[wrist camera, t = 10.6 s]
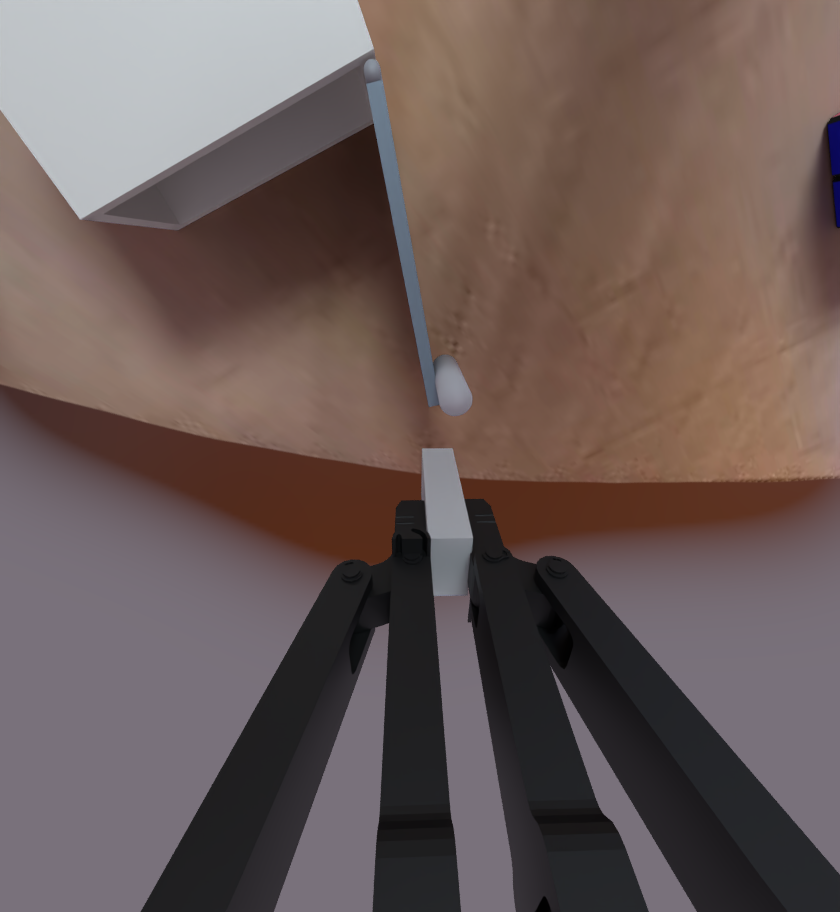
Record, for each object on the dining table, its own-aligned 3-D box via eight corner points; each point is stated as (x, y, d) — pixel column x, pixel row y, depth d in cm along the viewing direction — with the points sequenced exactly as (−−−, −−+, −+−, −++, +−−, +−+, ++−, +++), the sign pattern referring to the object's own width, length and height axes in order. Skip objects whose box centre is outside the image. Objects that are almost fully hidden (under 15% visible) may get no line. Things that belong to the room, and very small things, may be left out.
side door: (376, 121, 31) (349, 11, 17) (414, 111, 31) (418, -7, 17) (424, 372, 42) (432, 430, 28) (452, 366, 42) (475, 422, 27)
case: (284, -173, 25) (192, -489, 14) (385, 117, 32) (373, 48, 22) (36, 5, 28) (-183, -143, 18) (177, 230, 36) (80, 219, 25)
